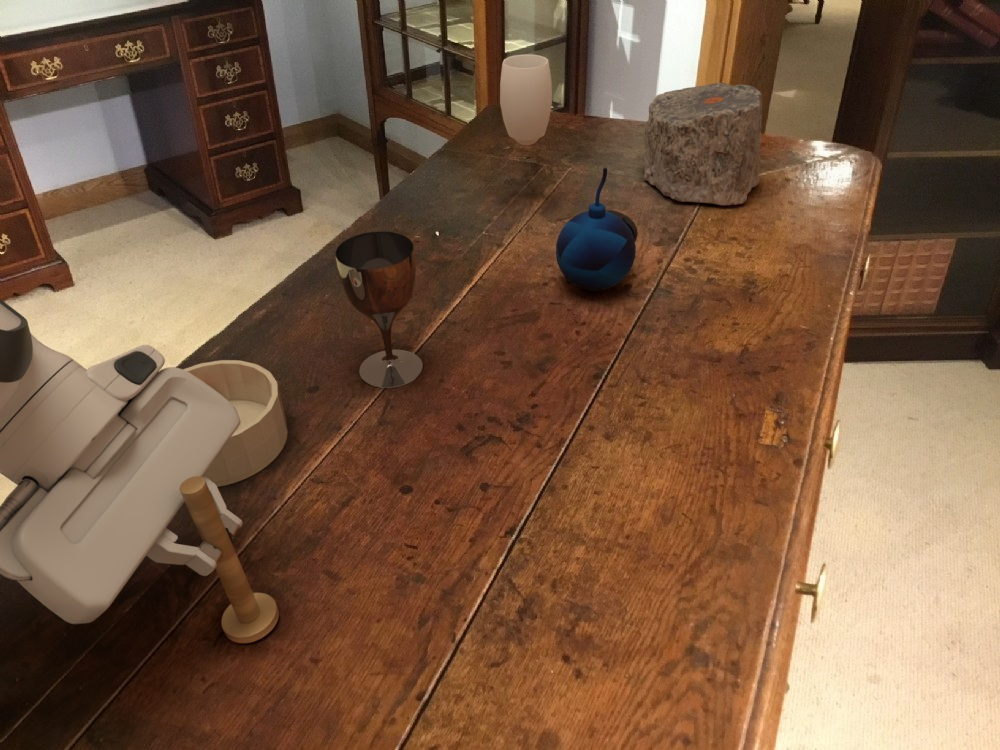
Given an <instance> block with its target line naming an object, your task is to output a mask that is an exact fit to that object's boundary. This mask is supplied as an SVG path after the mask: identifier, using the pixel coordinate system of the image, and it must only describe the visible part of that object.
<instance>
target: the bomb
mask: <svg viewBox="0 0 1000 750" xmlns="http://www.w3.org/2000/svg"><path fill="white" fill-rule="evenodd" d="M607 176H608V167H603V169H602V177H601V180H600V183H599V185H598V187H597V190H596V194H595V199H594V202H593V203H590V205H589V206H588V210H587V211H583V212H581V213H579V214H577V215H575V216H573V217H572V218H571V219H569V220H568V221H567V222H566V223H565V225H564V226H563V227H562V228H561V230H560V231H559V234H558V236H557V239H556V243H555V258H556V263H557V266H558V268H559V269H560V272H561V273H562V275H563V276H564V278H565V279H566V280H567V281H569V282H570V283H571V284H573V285H574V286H576V287H578V288H580V289H583V290H586V291H593V292H594V291H595V292H596V291H604V290H607V289H610V288H613V287H614V286H617V285H618V284H619V283H621V282H622V281H623V280H625V278H626V277H627V276H628V274H629V273H630V271H631V270H632V267H633V266H634V262H635V259H636V252H637V246H636V241H637V239H638V233H639V231H638V227H637V225H636V224H635V222H634V221H633V220H632V219H631V218H630V217H629V216H628V215H626V214H624V213H622V212H619V211H617V210H613V209H607V206H605V204H604V203H602V202H600V198H601V194H602V193H601V192H602V189H603V188H604V186H605V183H606V181H607Z"/></svg>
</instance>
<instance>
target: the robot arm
mask: <svg viewBox="0 0 1000 750" xmlns="http://www.w3.org/2000/svg"><path fill="white" fill-rule="evenodd" d="M165 363H166V359H165V357H164V355H163V354H162V353H161V352H160V351H159V350H157V349H156V348H155V347H153V346H151V345H149V344H141V345H139V346H136V347H135V348H132V349H130V350H128V351H125V352H123V353H121V354H119V355H116V356H114V357H112V358H110V359H107V360H104V361H101V362H99V363H97V364H94V365H92V366H90V367H87V368H85V367H84V366H83V365H82V364H80V363H79V362H78V361H76V360H75V359H74V358H72V357H71V356H69V355H67V354H65V353H63V352H60V351H57V350H55V349H54V348H53V349H52V348H51V347H49V346H47V345H45V344H44V343H43V342H41V341H40V340H38V338H36V336H34V335H33V333H32V332H31V329H30V326H29V322H28V319H27V318H26V317H24V316H23V315H22V314H21V313H19V311H17V310H16V309H14V308H13V307H12V306H10V305H9V304H8V303H6V302H5V301H4V300H2V299H1V298H0V474H1V475H2V476H3V477H5V478H7V479H8V480H9V481H11V482H12V483H13V484H15V485H16V486H15V487H14V488H13V490H12V491H10V493H9V494H8V495H7V496H6V497H5V499H4V500H3V502H2V503H1V505H0V575H1V576H3V577H4V578H6V579H9V580H13V581H16V582H17V583H18V584H20V585H21V586H22V588H24V589H25V590H26V591H27V592H28V593H29V594H30V595H31V596H32V597H34V598H35V599H36V600H37V601H39V603H41V605H43V606H45V608H47V609H48V610H50V611H51V612H52V613H54V615H56V616H58V617H59V618H60V619H61V620H63V621H64V622H67V623H69V624H71V625H80V624H90V623H92V622H94V621H95V620H96V619H98V618H99V617H100V616H101V615H102V614H104V612H106V611H107V610H108V609H109V607H110V606H111V605H112V603H113V602H114V601H115V599H116V598H117V597H118V596H119V594H120V592H121V591H122V590H123V588H124V587H125V586H126V584H127V583H128V581H129V580H130V579H131V577H132V576H133V574H134V573H135V572H136V570H137V569H138V567H140V564H141V563H142V562H143V561H144V559H145V557H147V558H149V560H152V561H153V562H154V563H156V564H167V565H178V566H184V565H185V566H187V567H188V568H190V569H191V570H193V571H194V572H196V573H197V574H199V575H200V576H203V577H207V576H209V575H210V574H211V573H214V571H215V568H216V566H217V564H218V563H219V561H220V559H221V558H222V556H223V553H222V551H220V550H219V549H215V548H214V546H213V545H212V544H211V543H209V542H207V541H206V540H205V541H204V542H203V541H202V542H201V543H200V544H199V545H197V546H193V545H186V544H179V543H176V541H177V540H178V539H179V537H178V535H177V534H176V533H174V532H173V531H171V530H170V529H169V528H168V526H169V524H170V523H171V522H172V520H173V519H174V517H175V516H176V515H177V513H178V511H180V509H181V508H182V506H183V505H184V503H185V501H184V499H183V497H182V495H181V492H180V490H179V488H180V485H181V483H182V482H183V481H185V480H186V479H188V478H190V477H194V476H200V477H203V478H204V479H205V481H206V484H207V486H208V488H209V491H210V493H211V495H212V498H213V500H214V502H215V505H216V507H217V509H218V512H219V514H220V516H221V519H222V521H223V524H224V526H225V528H226V531H227V533H228V535H229V538H230V540H234V538H235V537H236V535H237V534H238V533H239V531H240V529H241V528H242V526H243V523H244V522H243V520H242V519H241V518H239V516H237V515H236V514H234V513H233V512H231V511H230V510H229V509H227V508H228V507H227V504H226V502H225V501H224V498H223V497H222V495H221V494H222V493H221V492H220V490H219V487H217V486H216V484H215V483H213V482H212V481H211V480H209V479H208V478H207V477H205V476H204V474H205V472H206V471H207V470H208V468H209V467H210V465H211V464H212V463H213V461H214V460H215V458H216V457H217V456H218V454H219V453H220V451H221V450H222V449H223V447H224V446H225V444H226V443H227V442H228V440H229V439H230V438H231V436H232V435H233V433H234V432H235V431H236V429H237V428H238V426H239V425H240V423H241V421H240V417H239V415H238V412H237V410H236V408H235V407H234V405H233V404H232V403H231V402H229V401H228V400H227V399H226V398H225V397H223V396H222V395H221V394H219V393H218V392H217V391H215V390H214V389H213V388H211V387H210V386H209V385H207V384H206V383H204V382H203V381H201V380H200V379H198V378H197V377H196V376H194V375H192V374H191V373H189V372H187V371H185V370H183V369H184V368H179V367H175V366H169V367H165V368H163V367H164V365H165Z"/></svg>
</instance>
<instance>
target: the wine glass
mask: <svg viewBox="0 0 1000 750" xmlns="http://www.w3.org/2000/svg"><path fill="white" fill-rule="evenodd" d="M335 263H336V269H337V272H338V278H339V280H340V283H341V286H342V289H343V291H344V294H345V296H346V299H347V300H348V301H349V303H350V305H351V306H352V307H353V308H354V309H355V310H357V312H359V313H361V314H362V315H364V316H365V317H366V318H368V319H370V320H371V321H373V323H375V324H376V326H377V327H378V329H379V332H380V335H381V338H382V343H383V346H384V350H382V351H379V352H376V353H374V354H372V355H370V356H368V357H367V358H365V360H363V362H361V364H360V365H359V369H358V373H359V377H360V379H361V380H362V381H363V382H364V383H365V384H367V385H369V386H372V387H375V388H381V389H393V388H399V387H402V386H403V387H404V386H405V385H408V384H410V383H412V382H413V381H415V380H416V379H418V377H419V376H420V375H422V372H423V369H424V363H423V361H422V359H421V357H420V356H418V355H417V354H416V353H414V352H412V351H408V350H406V349H405V350H404V349H393V346H392V345H393V344H392V329H393V328H392V327H393V325H394V322H395V320H396V318H397V317H398V315H400V313H401V312H402V311H403V310H404V309H405V308H406V307H407V305H408V304H409V302H410V301H411V299H412V297H413V294H414V289H415V284H416V270H417V269H416V254H415V246H414V243H413V242H412V240H411V239H410V238H409V237H407V236H406V235H403V234H401V233H398V232H392V231H369V232H363V233H360V234H357V235H356V234H355V235H354V236H351V237H349V238H347V239H345V240H344V241H342V242H341V243H340V244H339V245H338V247H336V250H335Z"/></svg>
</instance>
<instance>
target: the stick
mask: <svg viewBox="0 0 1000 750" xmlns="http://www.w3.org/2000/svg"><path fill="white" fill-rule="evenodd" d="M179 490H180V492H181V495H182V497H183V499H184V501H185V502H184V503H185V505H186V508H187V510H188V513H189V515H190V517H191V519H192V521H193V523H194V525H195V527H196V530H197V532H198V534H199V537H200V538H201V541H202V543H203V542H204V541H205V540H206V541H207V542H209V543H211V544H212V545H213V546H214V548H215V549H219V550H220V551H222V553H223V556H222V558H221V559H220V561H219V563H218V564H217V566H216V568H215V569H214V571H215V572H216V575H217V576H218V578H219V581H220V583H221V586H222V587H223V589H224V592H225V594H226V596H227V598H228V601H229V603H230V604H229V605H228V606H227V607H226V609H225V610H224V612H223V614H222V616H221V628H222V631H223V633H224V635H225V636H226V638H227V639H228V640H230V641H231V642H233V643H237V644H249V643H254V642H256V641H259V640H261V639H262V638H264V637H266V636H267V635H268V634H269V633H270V632H272V630H274V628H275V626H276V625H277V623H278V621H279V616H280V611H279V610H280V609H279V607H278V605H277V602H276V600H275V599H274V598H273V597H272V596H271V595H269V594H267V593H263V592H253V590H252V587H251V585H250V583H249V582H250V581H249V580H248V577H247V576H246V573H245V571H244V569H243V566H242V563H241V562H240V559H239V557H238V554H237V552H236V550H235V547H234V545H233V543H232V541H231V540H232V539H231V540H230V538H229V535H228V533H227V531H226V528H225V526H224V524H223V521H222V519H221V516H220V514H219V512H218V509H217V507H216V505H215V502H214V500H213V498H212V495H211V493H210V491H209V488H208V486H207V484H206V481H205V479H204V478H203V477H200V476H194V477H190V478H188V479H186V480H185V481H183V482H182V483H181V485H180V488H179Z"/></svg>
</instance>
